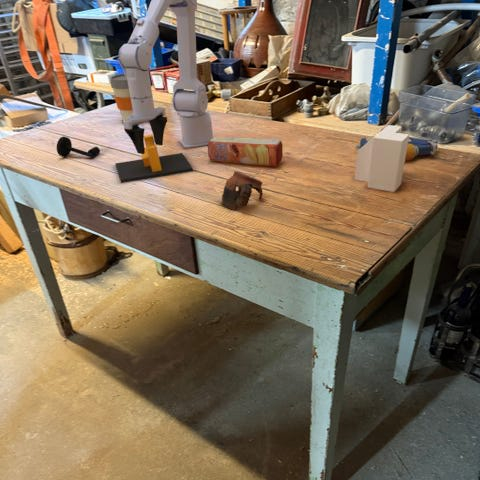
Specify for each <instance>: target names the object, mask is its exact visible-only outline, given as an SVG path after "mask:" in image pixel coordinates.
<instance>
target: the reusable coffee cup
mask: <svg viewBox="0 0 480 480" xmlns="http://www.w3.org/2000/svg"><path fill="white" fill-rule="evenodd" d="M109 79H110V87H111V89H112V91H113V97H114V100H115V104H116V108H117V109H118V110H119V113H120V116H121V119H122V122H123V121H125V120H127V119H128V118H129V117H131V116H132V113H133V108H132V103H131V97H130V92H129V86H128V81H127V77H125V75H124V73H120V74H119V73H118V74H115V75H113V76H110V78H109Z"/></svg>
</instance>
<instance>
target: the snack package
mask: <svg viewBox="0 0 480 480" xmlns="http://www.w3.org/2000/svg"><path fill="white" fill-rule="evenodd" d="M283 147H284V146H283V142H282V140H281V139H279V138H278V139H271V138H270V139H268V138H248V137H247V138H246V137H229V136H228V137H224V136H223V137H222V136H213V138H212V139H211V140H210V141H209V143H208V145H207V157H208V159H209V161H211V162H225V163H234V164H245V165H255V166H265V167H272V168H273V167H274V168H275V167H278V166H279V165H280V164H281V163H282V160H283V156H284V155H283V154H284V153H283V152H284V151H283V150H284V149H283Z"/></svg>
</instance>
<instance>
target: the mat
mask: <svg viewBox="0 0 480 480" xmlns="http://www.w3.org/2000/svg"><path fill="white" fill-rule="evenodd" d="M159 160H160V164H161V169H162V171H157V172H152V168H151V166H147V167H145V166H144V162H143V158H140V159H134V160H128V161H127V160H126V161H120V162H115V168H116V170H117V174H118V178H119V180H120V183H127V182H133V181H140V180H147V179H152V178H159V177H165V176H171V175H176V174H183V173H188V172H193V171H194V168H193V167H192V165H191V163H190V162H189V160H188V159H187V158H186V156H185V155H184V154H183V152H180V153H173V154H165V155H160V156H159Z"/></svg>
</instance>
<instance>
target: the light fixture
mask: <svg viewBox="0 0 480 480" xmlns="http://www.w3.org/2000/svg"><path fill="white" fill-rule="evenodd" d="M71 152H73V153H76V154H79V155H82V156H85V157H89V158H92V159H93V158H94V157H96V156H98V155H99V154H101V149H100V147H98V146H94V147H92V148H90V149H88V150H87V151H85V150H82V149H79V148H75V147H73V144H72V140H71V139H70V137H67V136H60V137H59V138H58V140H57V142H56V153H57V154H58V156H60V157H63V158H67V157H69V156H70V154H71Z"/></svg>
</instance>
